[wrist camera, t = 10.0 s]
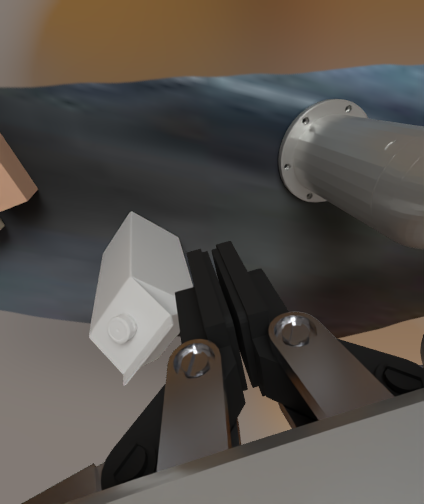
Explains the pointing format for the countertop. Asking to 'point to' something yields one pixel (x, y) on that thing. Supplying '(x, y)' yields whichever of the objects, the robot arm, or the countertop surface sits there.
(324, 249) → the countertop surface
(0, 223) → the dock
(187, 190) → the countertop surface
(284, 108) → the countertop surface
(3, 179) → the t block
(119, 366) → the milk carton
